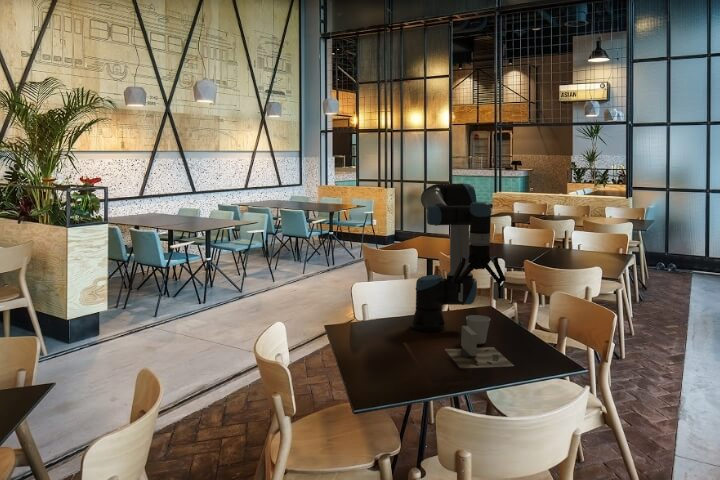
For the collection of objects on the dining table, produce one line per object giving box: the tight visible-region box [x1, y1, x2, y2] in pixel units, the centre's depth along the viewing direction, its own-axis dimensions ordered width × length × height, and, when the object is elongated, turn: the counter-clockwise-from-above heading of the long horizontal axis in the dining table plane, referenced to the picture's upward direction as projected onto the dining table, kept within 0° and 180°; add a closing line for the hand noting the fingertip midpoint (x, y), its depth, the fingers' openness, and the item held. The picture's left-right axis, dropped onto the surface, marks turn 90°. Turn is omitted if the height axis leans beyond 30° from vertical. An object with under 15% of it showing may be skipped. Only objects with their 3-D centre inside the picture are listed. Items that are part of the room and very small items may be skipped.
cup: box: [465, 314, 492, 345], centre depth 241 cm, size 10×10×11 cm
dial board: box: [444, 346, 515, 369], centre depth 222 cm, size 22×20×1 cm
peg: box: [460, 325, 478, 363], centre depth 221 cm, size 15×6×10 cm, turn 7°
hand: (478, 300), depth 222 cm, fingers open, 13 cm apart
